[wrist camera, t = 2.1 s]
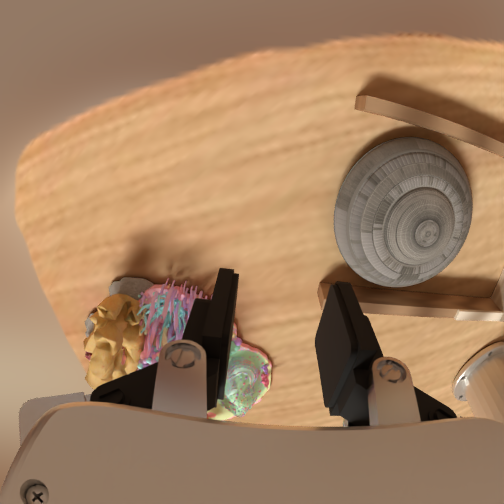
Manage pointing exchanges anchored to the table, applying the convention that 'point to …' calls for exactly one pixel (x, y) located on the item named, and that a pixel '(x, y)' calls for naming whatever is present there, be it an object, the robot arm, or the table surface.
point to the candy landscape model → (163, 341)
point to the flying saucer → (403, 212)
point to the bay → (418, 303)
